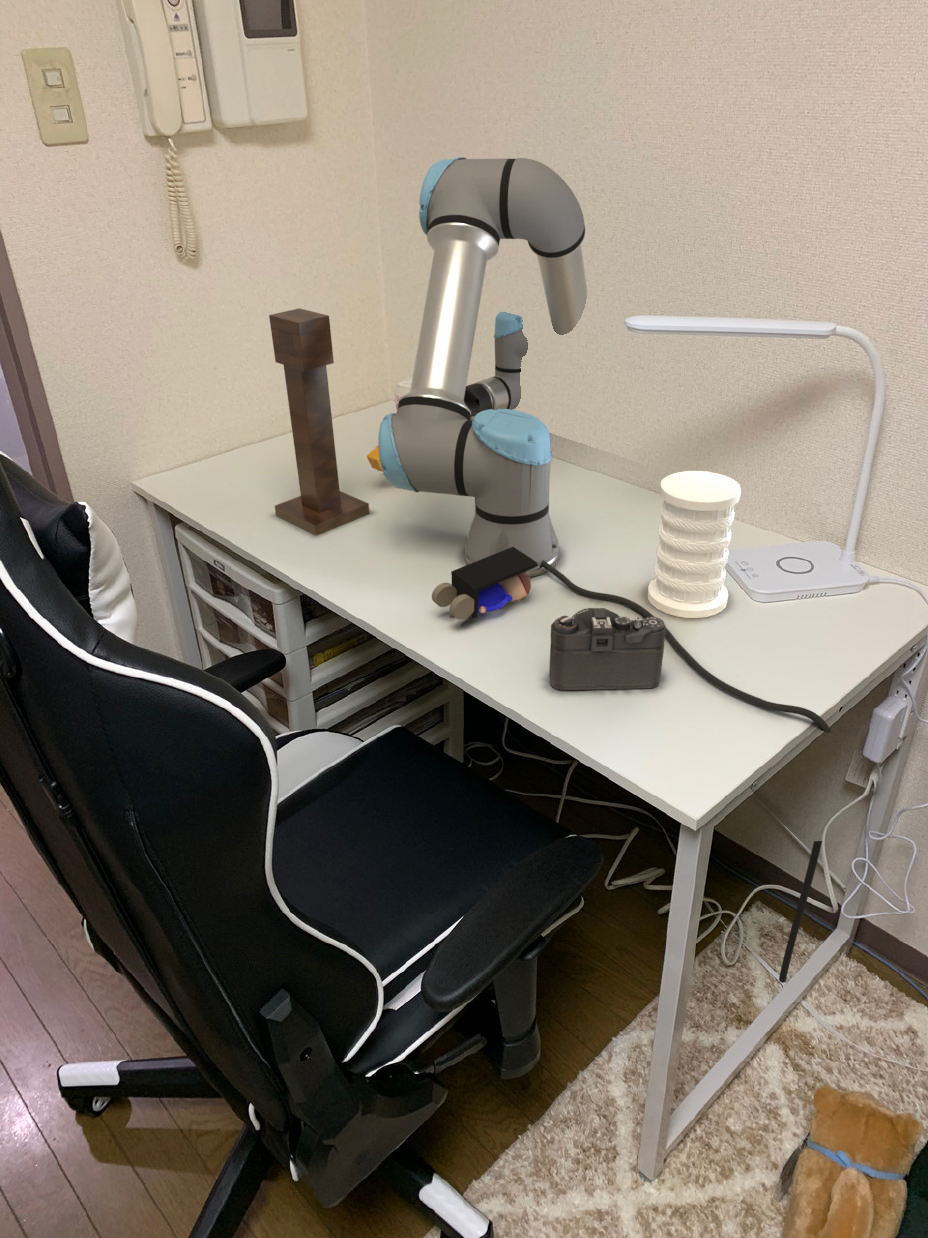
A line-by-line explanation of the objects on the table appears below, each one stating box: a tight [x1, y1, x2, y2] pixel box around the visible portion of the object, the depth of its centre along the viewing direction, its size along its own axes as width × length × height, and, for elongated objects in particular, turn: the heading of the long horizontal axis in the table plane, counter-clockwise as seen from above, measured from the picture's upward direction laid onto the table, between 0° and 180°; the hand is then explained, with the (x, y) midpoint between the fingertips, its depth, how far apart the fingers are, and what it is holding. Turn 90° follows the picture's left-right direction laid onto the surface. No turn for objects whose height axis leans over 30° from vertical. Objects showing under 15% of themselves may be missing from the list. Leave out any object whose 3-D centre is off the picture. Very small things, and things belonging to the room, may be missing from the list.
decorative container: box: [647, 470, 742, 619], centre depth 129 cm, size 12×12×18 cm
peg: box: [366, 445, 383, 473], centre depth 170 cm, size 18×3×3 cm, turn 134°
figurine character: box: [431, 547, 538, 626], centre depth 131 cm, size 7×8×15 cm
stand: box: [268, 308, 370, 536], centre depth 153 cm, size 12×12×35 cm
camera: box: [548, 607, 667, 691], centre depth 116 cm, size 14×11×10 cm
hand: (392, 432), depth 167 cm, fingers closed on peg, 3 cm apart
